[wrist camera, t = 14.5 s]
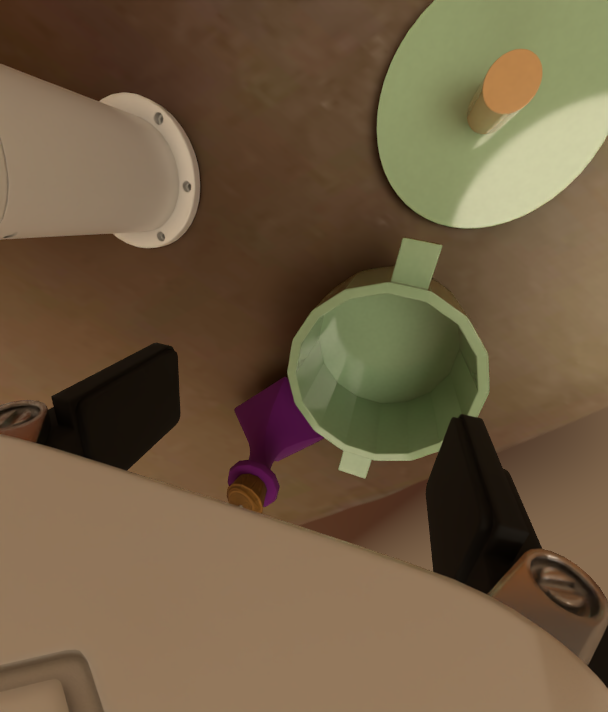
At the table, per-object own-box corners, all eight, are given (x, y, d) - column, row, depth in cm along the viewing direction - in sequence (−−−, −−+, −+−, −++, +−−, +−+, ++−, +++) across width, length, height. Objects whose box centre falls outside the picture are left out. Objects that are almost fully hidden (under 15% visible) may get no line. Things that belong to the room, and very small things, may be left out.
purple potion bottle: (295, 363, 34) (202, 488, 18) (336, 417, 36) (283, 579, 20) (246, 394, 38) (131, 524, 22) (286, 443, 39) (204, 601, 23)
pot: (300, 405, 36) (273, 454, 29) (336, 219, 28) (311, 220, 21) (427, 443, 34) (434, 508, 26) (506, 252, 26) (549, 266, 18)
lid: (357, 209, 27) (346, 207, 22) (411, -39, 21) (414, -129, 16) (549, 245, 25) (591, 253, 19) (675, -26, 19) (789, -129, 13)
